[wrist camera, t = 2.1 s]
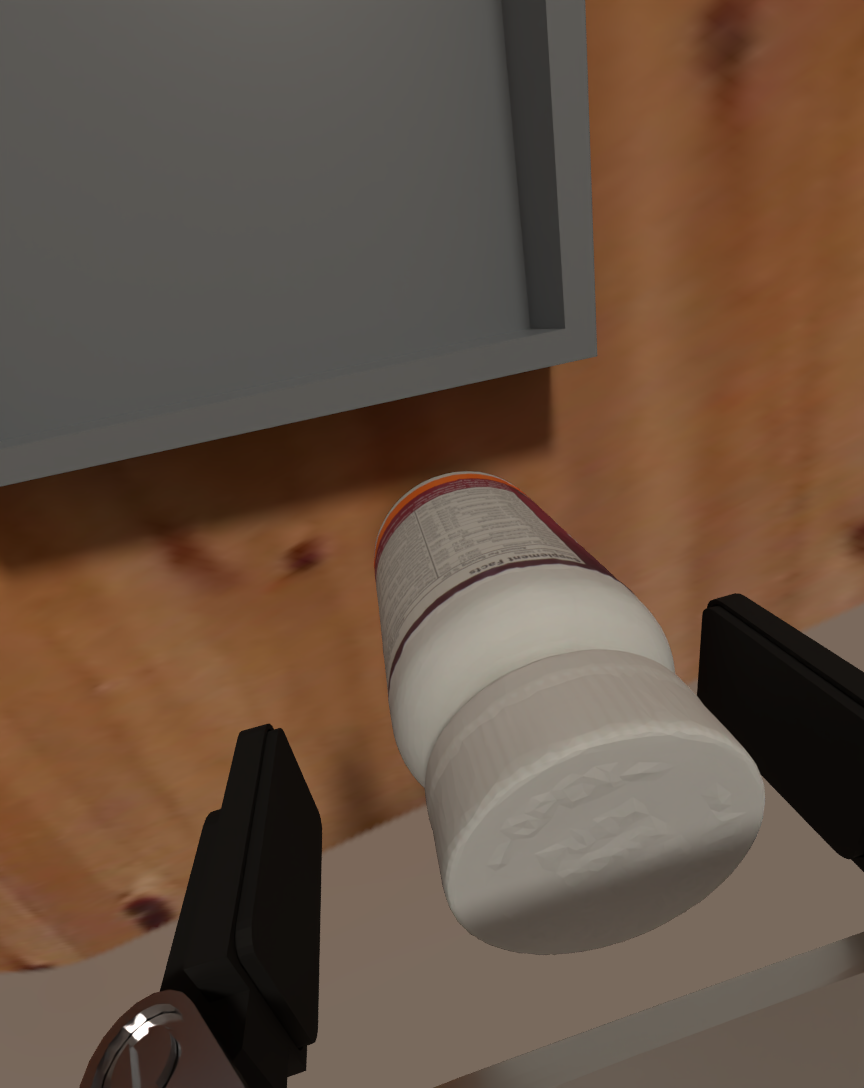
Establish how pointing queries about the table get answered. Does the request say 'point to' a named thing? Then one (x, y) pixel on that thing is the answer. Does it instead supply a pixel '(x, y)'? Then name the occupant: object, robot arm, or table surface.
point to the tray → (280, 213)
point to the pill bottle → (549, 727)
